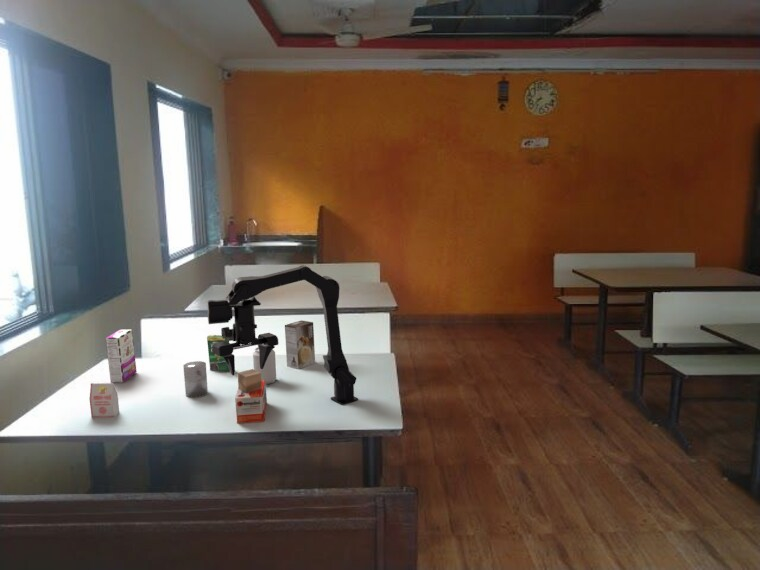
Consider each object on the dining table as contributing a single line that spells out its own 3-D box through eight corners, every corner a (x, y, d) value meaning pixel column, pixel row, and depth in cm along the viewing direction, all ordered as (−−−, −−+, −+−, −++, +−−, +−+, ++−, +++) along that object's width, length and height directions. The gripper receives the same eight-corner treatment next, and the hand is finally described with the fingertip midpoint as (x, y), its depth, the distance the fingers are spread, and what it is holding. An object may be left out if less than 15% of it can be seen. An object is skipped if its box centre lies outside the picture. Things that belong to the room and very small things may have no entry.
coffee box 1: (208, 370, 221) (206, 335, 218) (213, 367, 223) (211, 333, 221) (227, 372, 218) (225, 337, 216) (231, 370, 221) (229, 335, 218)
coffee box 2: (303, 360, 231) (301, 319, 228) (315, 363, 227) (314, 322, 224) (286, 366, 224) (284, 324, 221) (298, 369, 220) (296, 327, 217)
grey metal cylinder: (211, 394, 197) (209, 364, 195) (190, 399, 192) (188, 369, 190) (202, 388, 202) (200, 359, 200) (182, 393, 198) (180, 364, 196)
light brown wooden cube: (261, 388, 178) (260, 372, 178) (246, 393, 175) (245, 376, 174) (253, 384, 182) (252, 368, 181) (238, 388, 179) (237, 372, 178)
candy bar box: (123, 372, 220) (119, 329, 217) (137, 372, 220) (133, 329, 217) (109, 383, 209) (104, 337, 206) (123, 383, 209) (119, 337, 206)
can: (278, 378, 211) (277, 345, 209) (273, 385, 204) (271, 351, 202) (258, 377, 212) (256, 344, 210) (251, 384, 205) (249, 351, 203)
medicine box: (240, 405, 187) (239, 380, 186) (267, 403, 189) (265, 379, 187) (236, 424, 173) (234, 398, 171) (265, 422, 174) (263, 396, 172)
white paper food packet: (97, 412, 183) (93, 381, 181) (119, 412, 183) (116, 381, 181) (91, 417, 179) (88, 385, 177) (114, 417, 179) (110, 385, 177)
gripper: (260, 311, 187) (263, 359, 190) (203, 321, 175) (206, 371, 178) (278, 317, 178) (280, 368, 181) (218, 328, 167) (222, 381, 170)
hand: (247, 372), depth 178 cm, fingers open, 9 cm apart
